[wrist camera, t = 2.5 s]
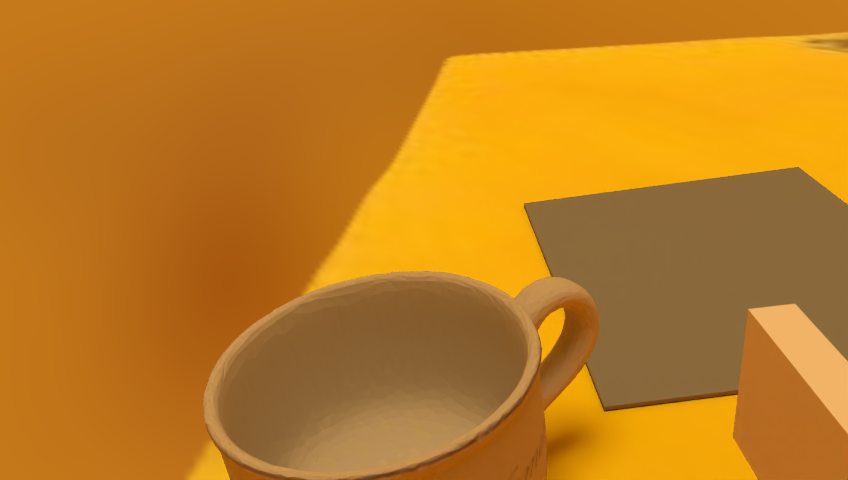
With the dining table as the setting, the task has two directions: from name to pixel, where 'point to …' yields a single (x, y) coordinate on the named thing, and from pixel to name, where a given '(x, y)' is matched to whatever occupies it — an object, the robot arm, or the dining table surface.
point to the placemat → (696, 275)
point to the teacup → (398, 381)
